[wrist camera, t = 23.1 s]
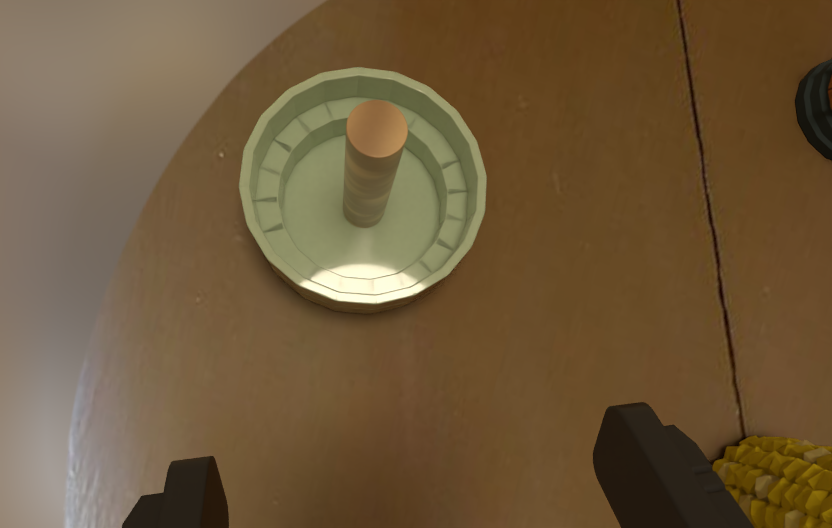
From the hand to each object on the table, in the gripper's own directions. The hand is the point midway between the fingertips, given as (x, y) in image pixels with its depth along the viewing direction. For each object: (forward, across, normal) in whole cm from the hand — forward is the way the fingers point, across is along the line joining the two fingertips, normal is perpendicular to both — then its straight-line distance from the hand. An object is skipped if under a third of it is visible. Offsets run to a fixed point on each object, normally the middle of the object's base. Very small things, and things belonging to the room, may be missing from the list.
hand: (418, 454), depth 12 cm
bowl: (+30, -1, +11) cm, 32 cm away
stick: (+29, -2, +11) cm, 31 cm away
